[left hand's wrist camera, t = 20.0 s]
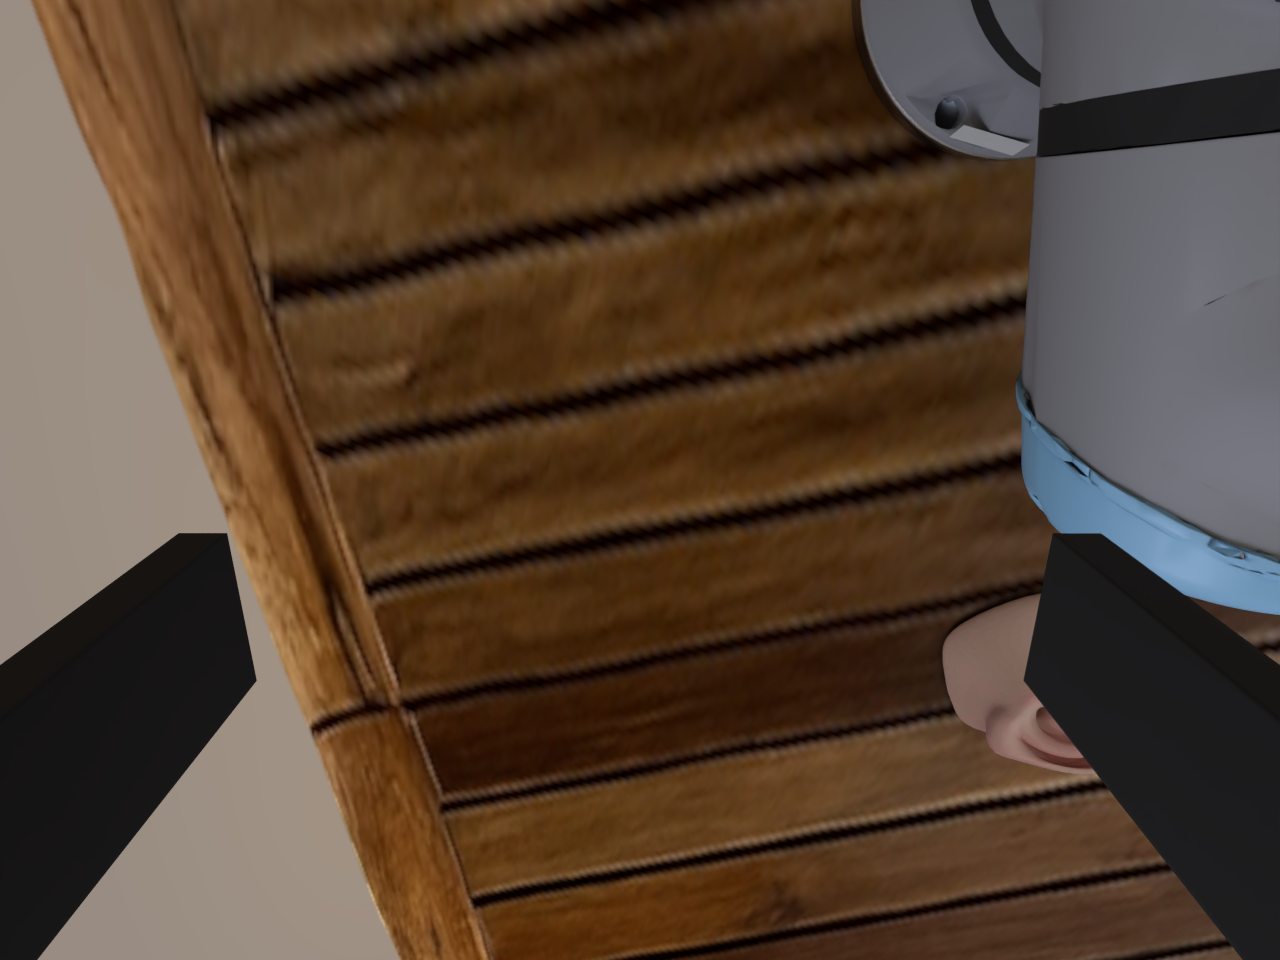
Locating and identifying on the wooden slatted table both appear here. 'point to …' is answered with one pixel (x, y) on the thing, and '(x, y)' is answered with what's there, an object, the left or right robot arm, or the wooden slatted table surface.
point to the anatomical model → (1005, 688)
